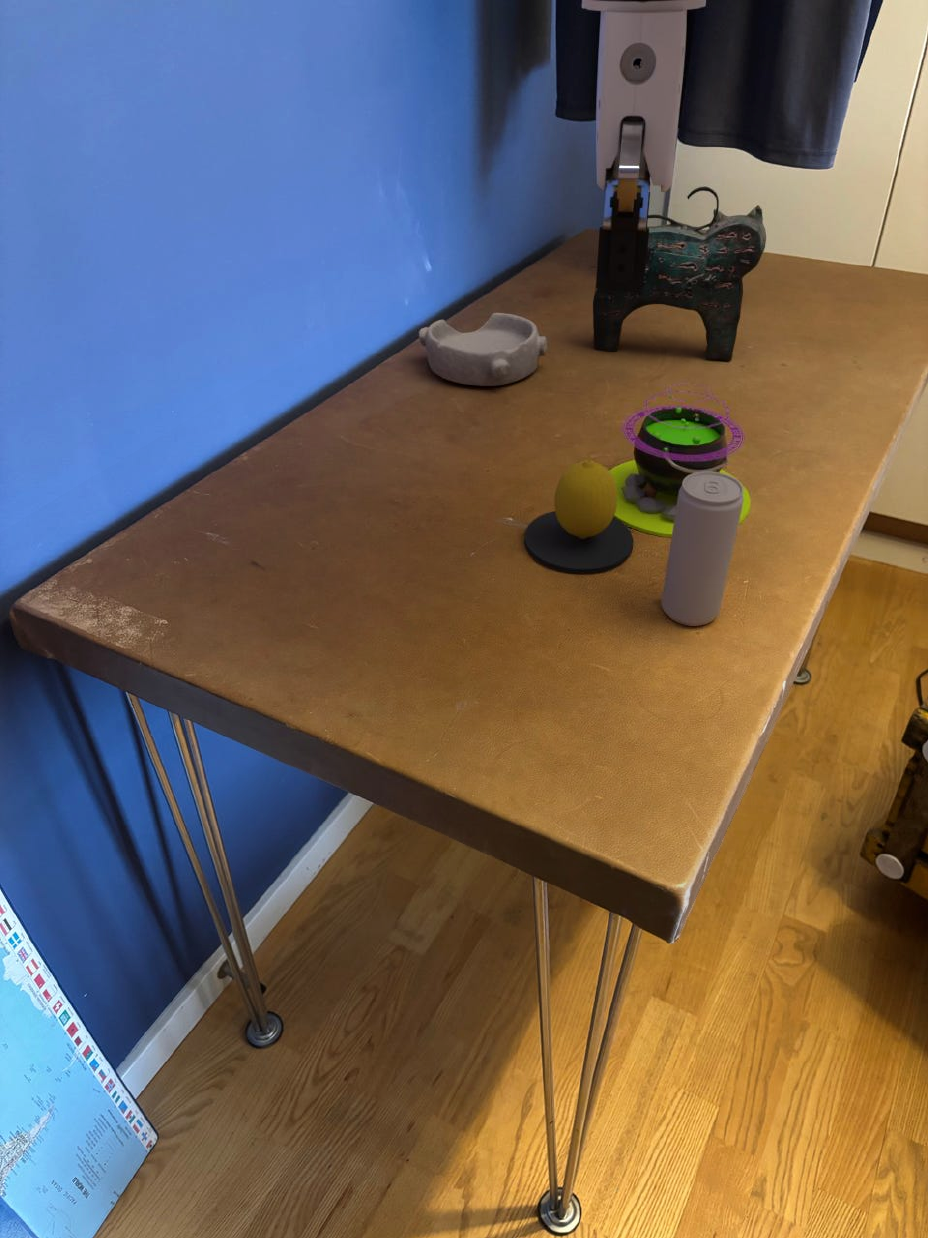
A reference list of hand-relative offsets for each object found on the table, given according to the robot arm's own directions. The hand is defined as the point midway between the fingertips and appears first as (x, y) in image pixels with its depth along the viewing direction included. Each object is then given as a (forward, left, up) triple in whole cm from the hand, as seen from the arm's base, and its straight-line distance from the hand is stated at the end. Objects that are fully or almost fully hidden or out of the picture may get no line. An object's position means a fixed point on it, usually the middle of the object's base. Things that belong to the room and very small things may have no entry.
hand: (621, 267), depth 66 cm
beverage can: (-5, +9, -26) cm, 28 cm away
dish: (-3, -43, -26) cm, 51 cm away
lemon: (0, -3, -26) cm, 26 cm away
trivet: (0, -3, -26) cm, 26 cm away
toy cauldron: (-12, -8, -26) cm, 30 cm away
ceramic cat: (-27, -41, -26) cm, 56 cm away
